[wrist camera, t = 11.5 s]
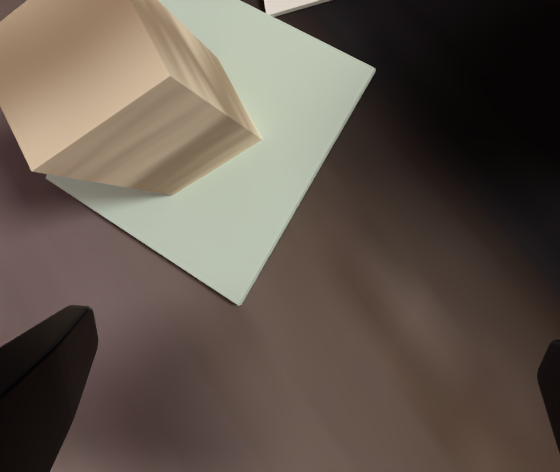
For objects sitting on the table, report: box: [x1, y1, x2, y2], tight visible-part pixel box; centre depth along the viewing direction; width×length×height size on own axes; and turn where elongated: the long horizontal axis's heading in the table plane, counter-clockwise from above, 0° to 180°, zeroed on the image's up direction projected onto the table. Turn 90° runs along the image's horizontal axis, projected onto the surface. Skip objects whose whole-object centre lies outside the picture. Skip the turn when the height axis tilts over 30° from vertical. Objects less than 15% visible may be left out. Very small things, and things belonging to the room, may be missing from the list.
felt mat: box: [46, 0, 376, 306], centre depth 22 cm, size 12×12×1 cm
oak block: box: [0, 0, 262, 195], centre depth 18 cm, size 4×5×9 cm
